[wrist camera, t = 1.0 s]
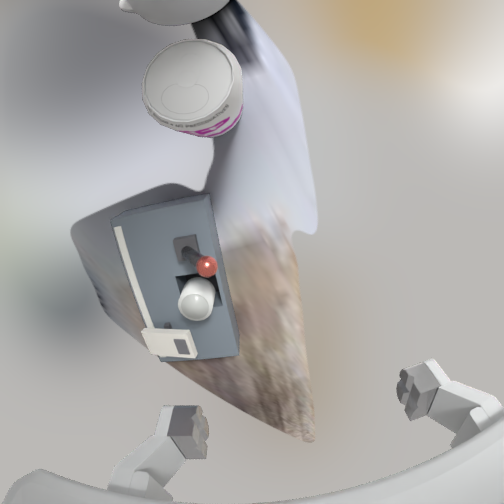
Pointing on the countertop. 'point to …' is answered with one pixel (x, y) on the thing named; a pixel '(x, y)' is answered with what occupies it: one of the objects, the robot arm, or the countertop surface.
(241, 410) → the countertop surface
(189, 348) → the rocker
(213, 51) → the supplement can
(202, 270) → the lever
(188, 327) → the console
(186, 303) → the button
